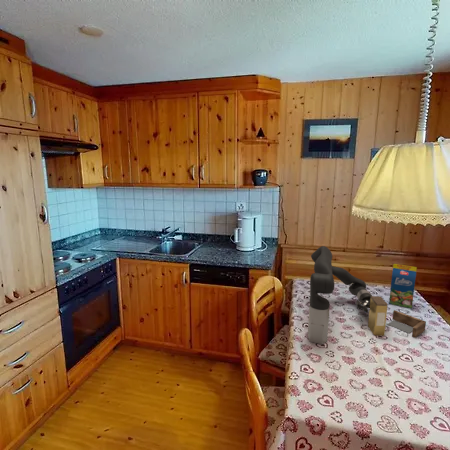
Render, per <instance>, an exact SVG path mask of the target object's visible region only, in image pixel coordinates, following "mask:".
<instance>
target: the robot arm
mask: <svg viewBox="0 0 450 450" xmlns="http://www.w3.org/2000/svg"><path fill="white" fill-rule="evenodd" d="M310 257H311V260H312V261H313V262H314V263H313V264H314V265H313V271H314V272H313V273H311V274H310V279H309V291H310V292H309V307H308V308H309V309H308V327H307V330H308V331H307V339H308V341H309V342H310V343H315V344H318V345H323V344H325V343H327V342H328V334H329V319H330V306H331V305H330V303H331V302H330V300H329V299H327V298H326V297H324V296H322V295H320V294H323V295H330V294H332V293H333V292H334V290H335V280H334V276H335V277H336V278H337V279H338V280H339V281H340V282H342V284H344V285H346V286H348V291H349V293H350V294H352V295H353V296H355V297H356V298H357V299H356V307H357V309H358V310H362V311H363V312H365V313H366V314H369V309H370V298H371V296H373V294H371V292H370V291H368V289H367V283H366V282H365V281H364V280H363V279H361V278H358V277H356V276H355V275H353V274H351V273H350V272H349V271H348V270H346V269H345V268H343V267H339V266H334V265H333V264H332V261H333V253H332V251H331V250H330V248H328V247H327V246H325V245H322V246H319V247H318V248H317V249H316V250H315V251H313V252H312V253H311V255H310Z"/></svg>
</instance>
